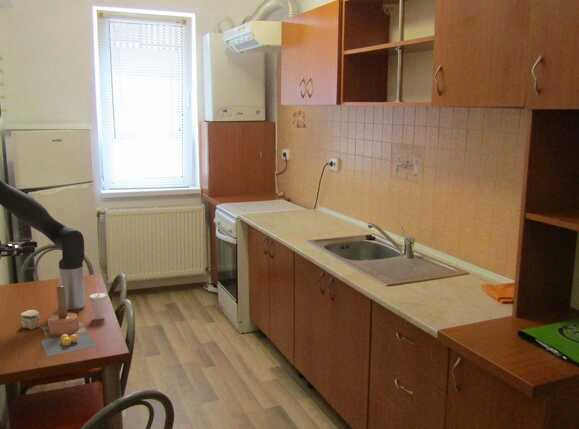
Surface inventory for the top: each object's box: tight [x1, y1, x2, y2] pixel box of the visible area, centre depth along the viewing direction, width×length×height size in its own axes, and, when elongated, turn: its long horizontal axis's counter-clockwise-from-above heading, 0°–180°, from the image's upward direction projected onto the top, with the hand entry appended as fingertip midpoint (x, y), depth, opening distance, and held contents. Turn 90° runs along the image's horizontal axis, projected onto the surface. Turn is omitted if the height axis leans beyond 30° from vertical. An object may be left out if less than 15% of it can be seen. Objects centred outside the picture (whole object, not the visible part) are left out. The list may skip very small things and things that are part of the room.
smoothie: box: [89, 283, 108, 320], centre depth 219 cm, size 6×6×14 cm
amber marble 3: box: [69, 334, 78, 343], centre depth 195 cm, size 3×3×3 cm
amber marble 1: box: [60, 334, 70, 342], centre depth 195 cm, size 3×3×3 cm
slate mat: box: [40, 332, 98, 357], centre depth 195 cm, size 15×16×1 cm
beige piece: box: [20, 309, 42, 330], centre depth 212 cm, size 10×9×6 cm
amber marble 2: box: [62, 337, 71, 346], centre depth 193 cm, size 3×3×3 cm
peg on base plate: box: [47, 284, 80, 335], centre depth 206 cm, size 10×10×17 cm
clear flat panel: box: [40, 319, 89, 340], centre depth 208 cm, size 14×14×1 cm
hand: (35, 246), depth 202 cm, fingers open, 8 cm apart
